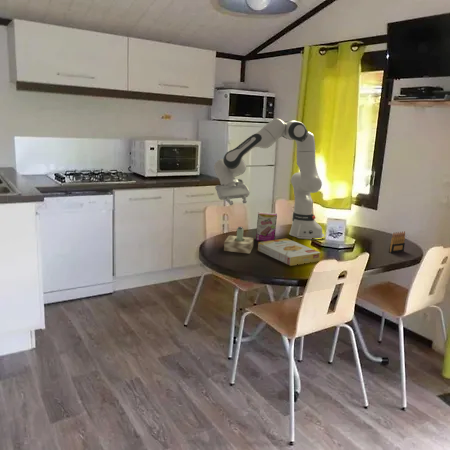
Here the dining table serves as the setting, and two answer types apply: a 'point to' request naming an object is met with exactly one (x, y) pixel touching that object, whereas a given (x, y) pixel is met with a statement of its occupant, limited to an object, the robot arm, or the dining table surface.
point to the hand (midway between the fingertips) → (238, 203)
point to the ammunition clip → (397, 242)
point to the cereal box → (289, 251)
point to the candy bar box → (266, 226)
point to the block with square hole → (238, 244)
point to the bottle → (239, 234)
